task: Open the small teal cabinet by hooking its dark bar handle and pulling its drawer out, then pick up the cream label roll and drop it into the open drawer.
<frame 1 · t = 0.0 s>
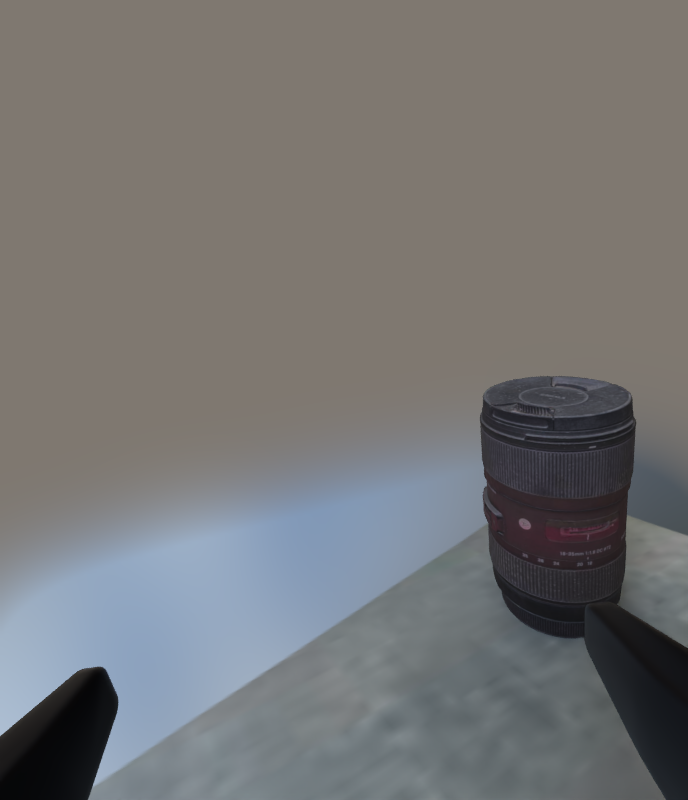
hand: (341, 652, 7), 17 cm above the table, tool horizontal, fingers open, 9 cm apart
camera lens: (554, 600, 27), on the table
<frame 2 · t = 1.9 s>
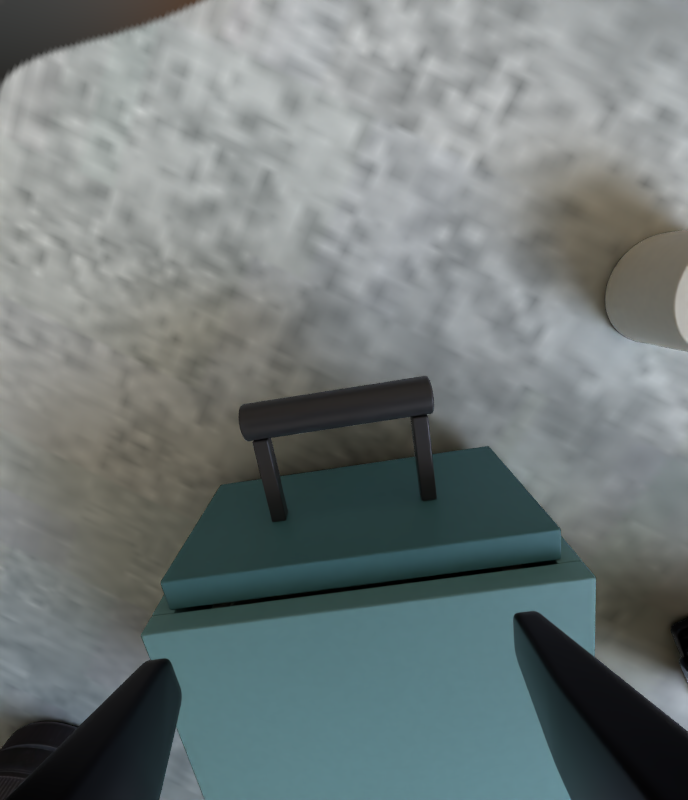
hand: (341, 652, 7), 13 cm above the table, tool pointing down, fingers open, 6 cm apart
camera lens: (61, 751, 27), on the table
label roll: (658, 289, 18), on the table
drawer: (366, 577, 17), point 4 cm above the table, slide at 0.0 cm
teal cabinet: (373, 584, 23), on the table
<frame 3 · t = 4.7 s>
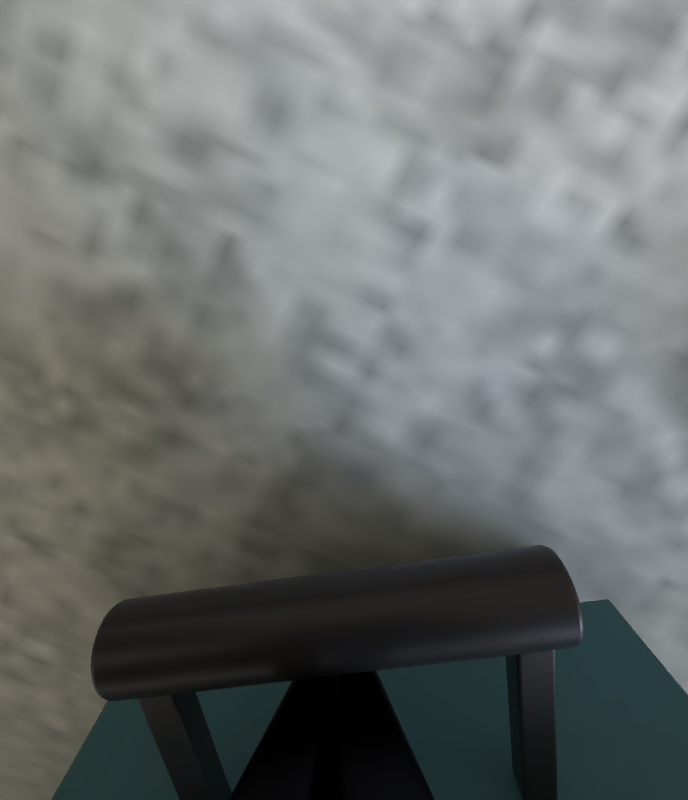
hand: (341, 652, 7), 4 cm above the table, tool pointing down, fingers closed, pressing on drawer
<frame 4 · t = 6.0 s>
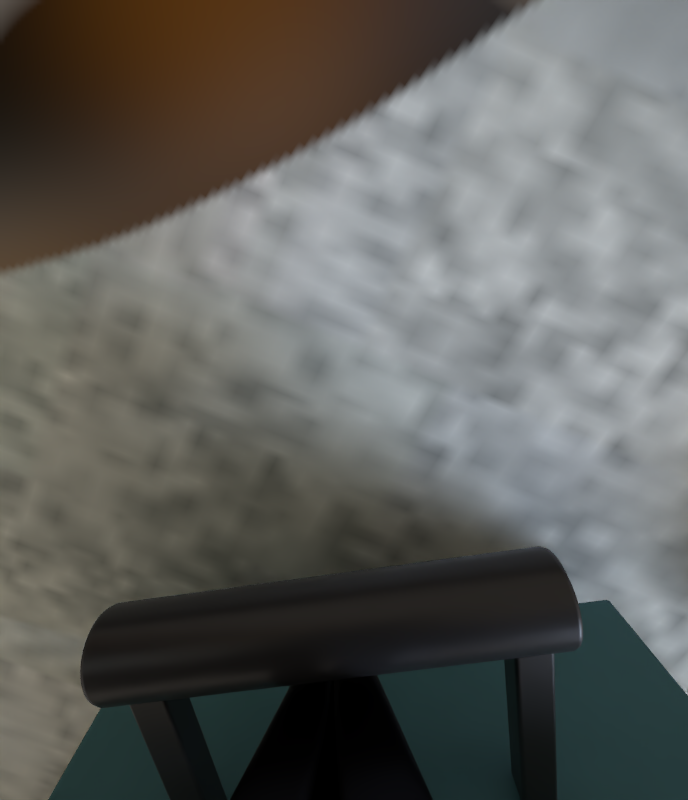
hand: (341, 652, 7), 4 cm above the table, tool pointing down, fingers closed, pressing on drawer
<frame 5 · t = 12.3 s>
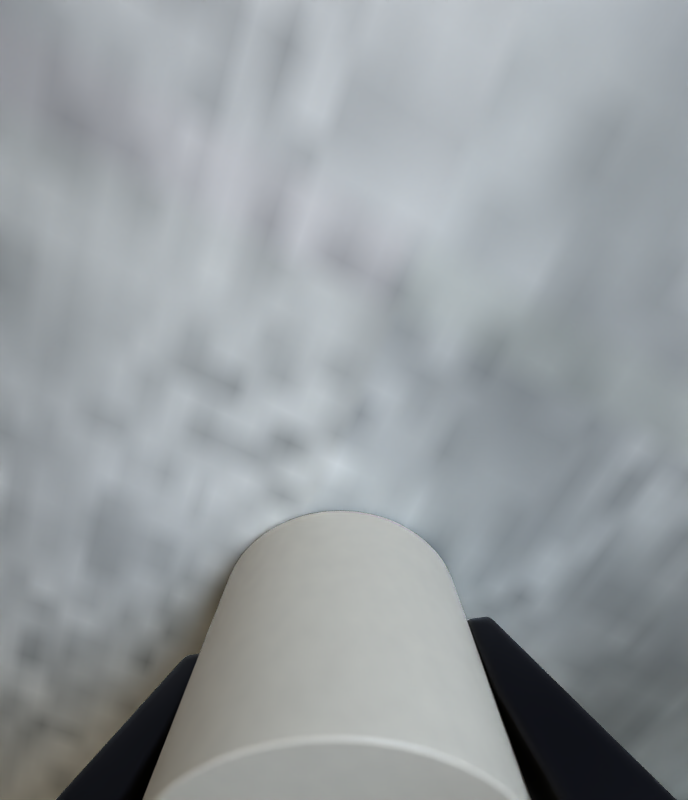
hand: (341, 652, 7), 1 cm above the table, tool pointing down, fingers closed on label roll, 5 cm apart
label roll: (340, 610, 8), on the table, touching gripper
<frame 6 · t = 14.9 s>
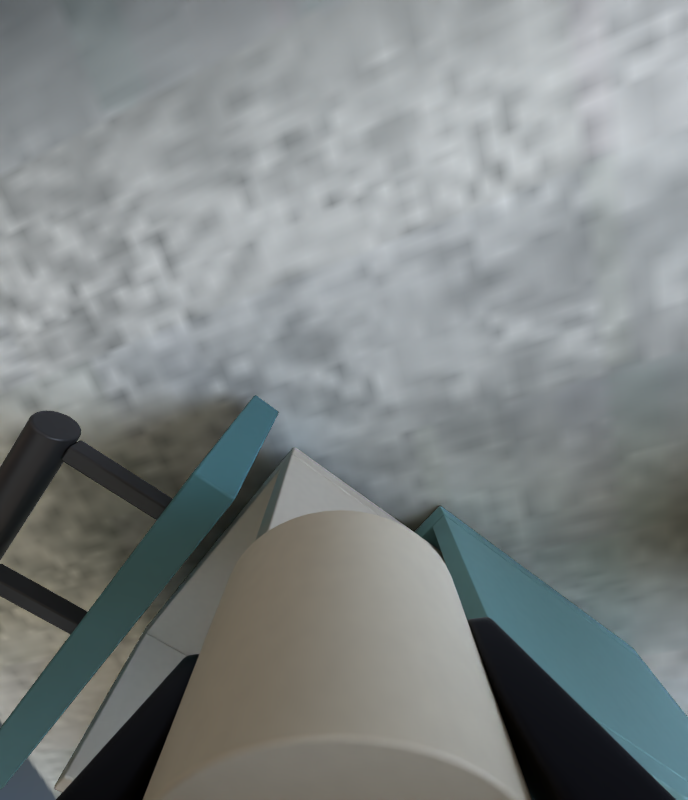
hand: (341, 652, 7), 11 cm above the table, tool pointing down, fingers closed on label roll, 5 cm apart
label roll: (340, 609, 8), point 10 cm above the table, touching gripper
drawer: (217, 614, 15), point 4 cm above the table, slide at 8.5 cm
teal cabinet: (442, 669, 21), on the table
when the fingers open (6 cm above the table, at t = 17.6 s): label roll drops 3 cm, resting on drawer.
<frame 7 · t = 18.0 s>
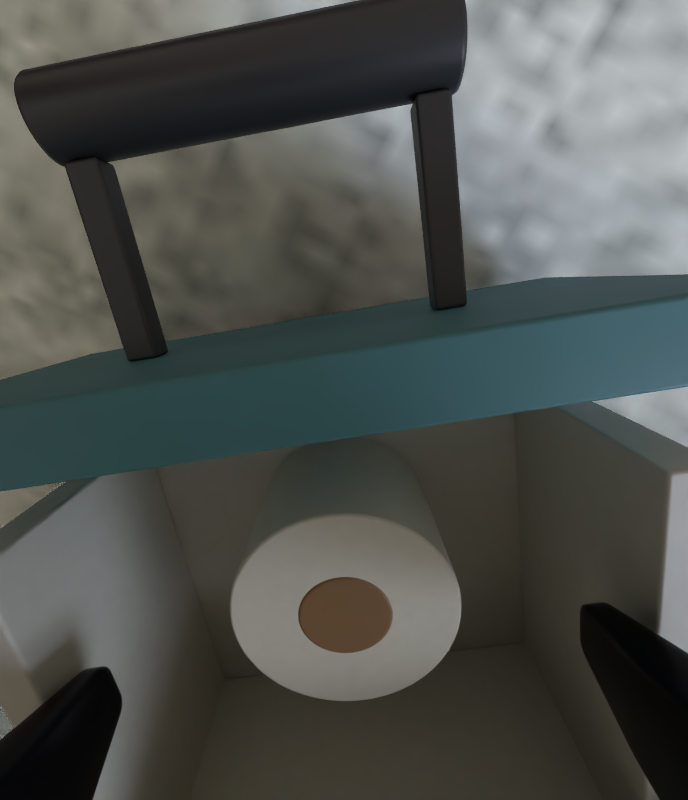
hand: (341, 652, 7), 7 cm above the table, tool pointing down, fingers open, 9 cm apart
label roll: (345, 509, 12), point 2 cm above the table, touching drawer
drawer: (330, 492, 9), point 4 cm above the table, slide at 8.5 cm, touching label roll
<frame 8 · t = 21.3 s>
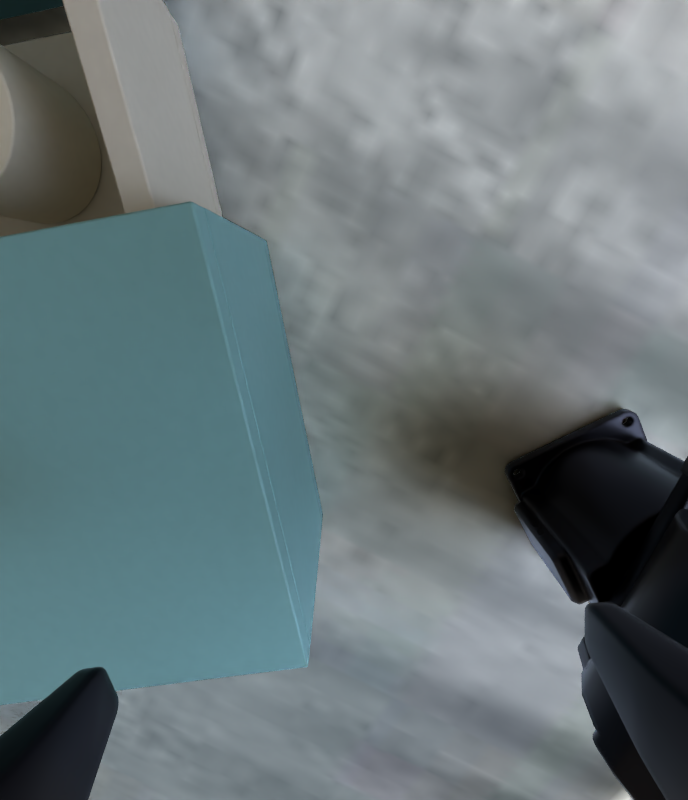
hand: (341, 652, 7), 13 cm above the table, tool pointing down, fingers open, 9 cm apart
label roll: (34, 151, 14), point 2 cm above the table, touching drawer
teal cabinet: (150, 414, 19), on the table
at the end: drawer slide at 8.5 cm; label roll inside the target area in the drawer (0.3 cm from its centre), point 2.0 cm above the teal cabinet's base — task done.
